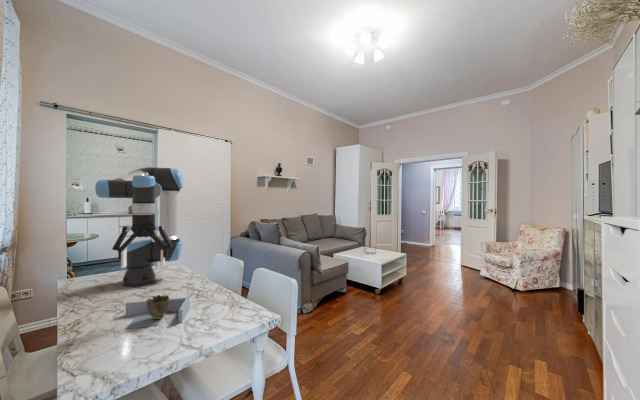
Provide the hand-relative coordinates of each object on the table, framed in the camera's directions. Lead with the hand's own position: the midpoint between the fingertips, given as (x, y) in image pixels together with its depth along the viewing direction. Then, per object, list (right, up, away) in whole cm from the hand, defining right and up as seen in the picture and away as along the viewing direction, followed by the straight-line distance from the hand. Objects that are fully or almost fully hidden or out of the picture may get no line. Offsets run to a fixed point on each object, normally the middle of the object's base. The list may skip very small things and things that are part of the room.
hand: (143, 266), depth 101 cm
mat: (+5, -20, -4) cm, 21 cm away
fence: (+6, -20, -2) cm, 21 cm away
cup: (+8, -20, -3) cm, 22 cm away
